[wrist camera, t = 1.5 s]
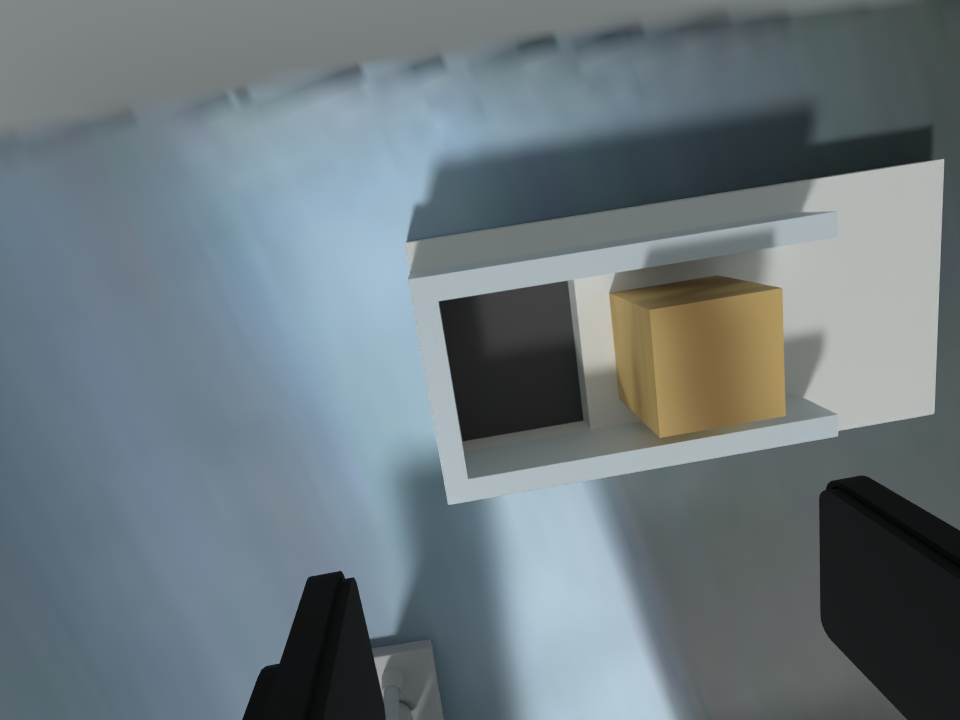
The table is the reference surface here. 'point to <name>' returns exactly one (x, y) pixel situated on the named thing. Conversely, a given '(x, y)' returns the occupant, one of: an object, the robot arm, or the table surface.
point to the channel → (660, 260)
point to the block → (700, 353)
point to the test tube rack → (409, 681)
